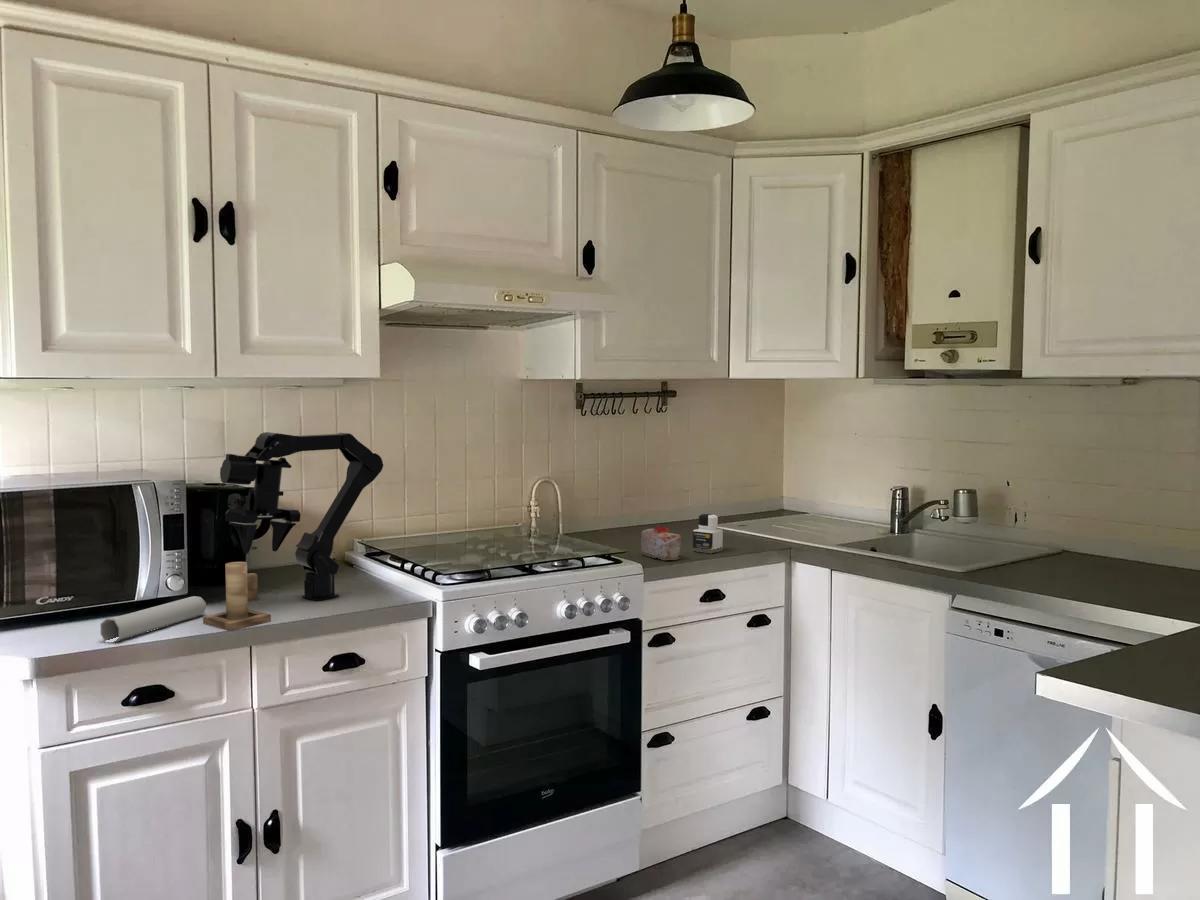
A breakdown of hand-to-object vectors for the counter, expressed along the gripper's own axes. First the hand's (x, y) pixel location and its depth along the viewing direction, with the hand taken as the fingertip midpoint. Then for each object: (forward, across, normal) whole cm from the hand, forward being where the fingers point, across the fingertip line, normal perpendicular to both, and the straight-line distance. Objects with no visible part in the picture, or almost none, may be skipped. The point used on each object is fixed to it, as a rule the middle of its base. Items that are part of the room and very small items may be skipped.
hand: (260, 552), depth 215 cm
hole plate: (+14, +12, +6) cm, 19 cm away
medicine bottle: (-3, -117, +75) cm, 139 cm away
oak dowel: (+14, +12, +6) cm, 19 cm away
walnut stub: (+13, -6, -8) cm, 16 cm away
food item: (-1, -100, +65) cm, 119 cm away
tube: (+16, +22, -6) cm, 28 cm away
